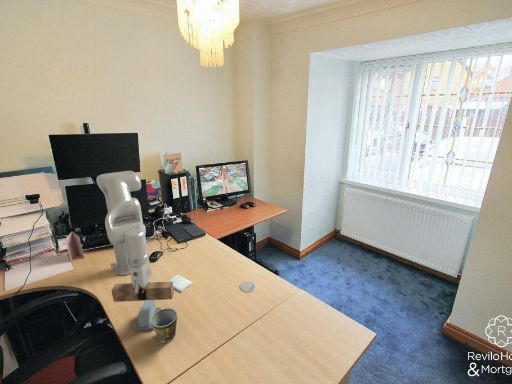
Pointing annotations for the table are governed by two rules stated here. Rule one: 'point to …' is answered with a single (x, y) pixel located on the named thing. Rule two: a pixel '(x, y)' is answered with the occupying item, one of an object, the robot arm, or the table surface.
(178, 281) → the hard drive
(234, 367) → the table surface
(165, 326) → the ceramic cup
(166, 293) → the walnut batten
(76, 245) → the greeting card
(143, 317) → the ridge block
